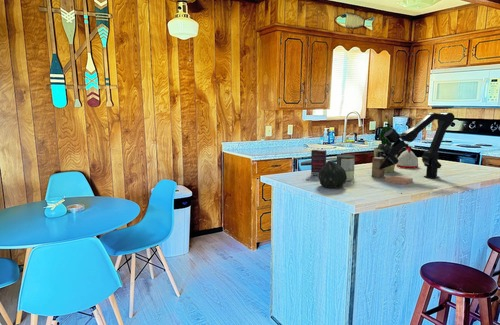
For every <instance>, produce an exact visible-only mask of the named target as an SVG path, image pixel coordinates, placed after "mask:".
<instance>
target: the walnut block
mask: <svg viewBox="0 0 500 325" xmlns="http://www.w3.org/2000/svg"><path fill="white" fill-rule="evenodd" d="M371 161H372V163H371V164H372V165H371V177H372V178H376V179H380V178H381V179H382V178H384V177H385V173H386V172H385V168H383V169H379V168H380V166H381V165H382V164H383V162H384V161H385V158H381V157H372V160H371Z"/></svg>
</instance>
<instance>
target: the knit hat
mask: <svg viewBox="0 0 500 325" xmlns="http://www.w3.org/2000/svg"><path fill="white" fill-rule="evenodd" d="M408 147H409V148H408V149H407V148H405V150H404V151H402V152H401V153H400V154H399V156H397V159H398V163H397V164H396V168H399V167H400V169H407V168H409V169H411V170H412V169H413V170H415V169H418V168H419V159H418V158H419V157H417V156H416V155H415V153H414V152H413V151H412V150H411V146H410V145H408Z"/></svg>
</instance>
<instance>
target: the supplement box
mask: <svg viewBox="0 0 500 325" xmlns="http://www.w3.org/2000/svg"><path fill="white" fill-rule="evenodd" d="M310 156H311V158H310V159H311V160H310V161H311V162H310V163H311V164H310V166H311V167H310V168H311V169H310V170H311V171H310V174H311V175H310V176H313V175H318V176H319V172H320V170H321V168H322V167H323V166H324V165H325V164H326V163H327V150H326V149H325V150H324V149H311V154H310ZM318 176H317V177H318Z"/></svg>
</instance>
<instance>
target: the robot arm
mask: <svg viewBox="0 0 500 325" xmlns="http://www.w3.org/2000/svg"><path fill="white" fill-rule="evenodd" d="M454 120H455V114H454V113H453V112H445V111H444V112H441V113H438V112H428V114H427V115H426V116H424V117H423V118H422V119H421V120H420V121H419V122H417V123H416V124H414V126H413V127H410V128H408V129H407V130H404V131H403V132H401V133H399V132H397V130H396V129H395V128H391V130H389V131H388V132H386V133H385V134H384V137H385V138H386V139H387V140H388V141H389V142H390V143H392V145H391V146H389V145H388V144H385V145H383V144H381V143H379V144H378V146H377V147H376V148H377V149H380V150H382V151H383V152H382V151H377V152H376V157H381V158H385V161H384V162H383V164H382V165H381V166H380V168H379V169H383V168H386V167H389V166H392V165H394V164H395V165H397V163H398V157H397V158H396V157H395V156H396V155H397V156H398V155H399V156H400V152H401V151H402V150H403V149H404V148H405V149H406V148H407V149H408V148H409V147H408V146H409V143H412V142H413V141H415V140H416V138H417V137H418V135H419V134H420V133H421V131H423V130H424V129H425V128H426V127H428V126H429V125H430V124H431V123H432V122H434V121H437V128H436V129H435V130H436V131H435V133H434V136H433V138H432V140H431V143H430V146H429V147H428V148H429V149H428V150H426V151H425V150H424V151H423V154H422V156H421V162H422V163H423V165H424V167H426V172H425V175H423V177H424V178H427V179H433V180H434V179H438V178H440V176H438V169H441V167H442V163H440V162H439V161H438V160H439V150H440V147H441V145H442V142H443V139H444V138H445V135H446V131H447V130H448V128H449V127H450V126H451V125H452V124H453V122H454ZM406 142H407V143H406Z"/></svg>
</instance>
